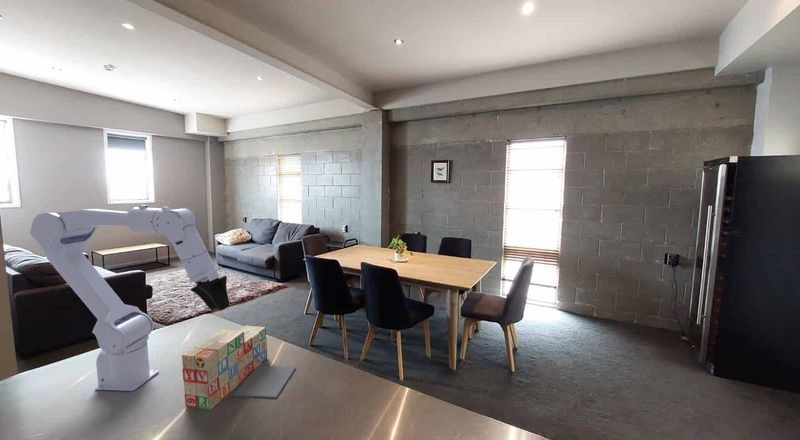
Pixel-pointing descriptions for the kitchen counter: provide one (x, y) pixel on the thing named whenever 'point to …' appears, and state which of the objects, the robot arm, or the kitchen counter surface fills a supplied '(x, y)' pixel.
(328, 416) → the kitchen counter surface
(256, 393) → the mat
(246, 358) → the stack of blocks
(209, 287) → the robot arm
